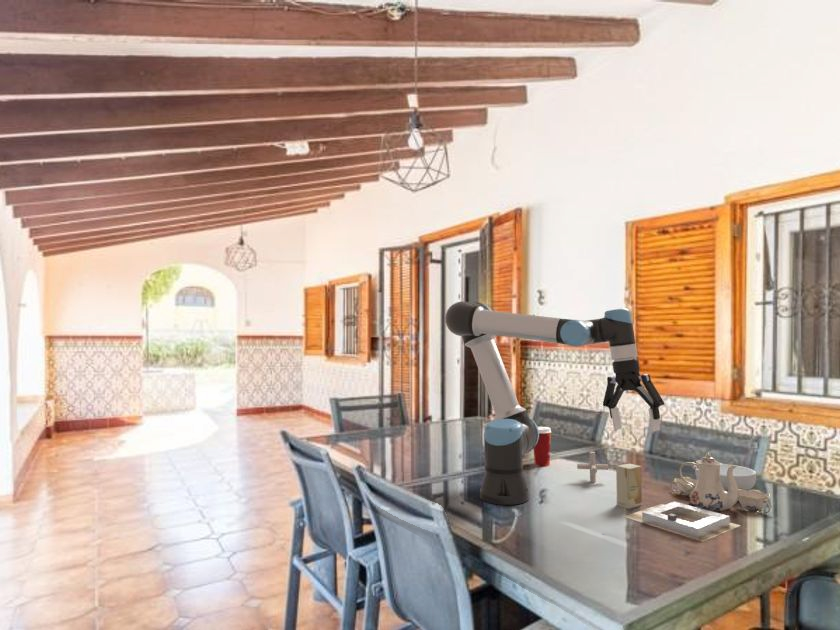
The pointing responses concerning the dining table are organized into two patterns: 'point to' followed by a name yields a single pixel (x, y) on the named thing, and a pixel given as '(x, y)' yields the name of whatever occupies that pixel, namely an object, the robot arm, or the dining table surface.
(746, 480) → the cereal bowl
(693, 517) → the white square frame
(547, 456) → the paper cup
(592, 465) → the pipe connector
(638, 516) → the board
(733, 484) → the chinaware
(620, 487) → the skincare box
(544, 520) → the dining table surface
